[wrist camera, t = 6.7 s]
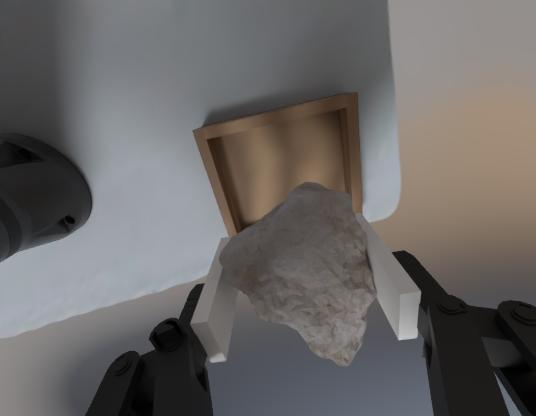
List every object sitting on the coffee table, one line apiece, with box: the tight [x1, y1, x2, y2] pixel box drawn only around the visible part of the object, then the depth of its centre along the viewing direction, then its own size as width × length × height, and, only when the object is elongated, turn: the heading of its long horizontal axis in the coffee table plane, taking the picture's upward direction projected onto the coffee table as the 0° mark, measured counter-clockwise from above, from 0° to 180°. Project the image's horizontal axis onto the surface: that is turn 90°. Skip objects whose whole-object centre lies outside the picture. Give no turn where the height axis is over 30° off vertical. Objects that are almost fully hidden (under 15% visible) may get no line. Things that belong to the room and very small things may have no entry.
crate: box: [193, 92, 362, 237], centre depth 30 cm, size 18×16×4 cm
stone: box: [219, 181, 377, 366], centre depth 13 cm, size 10×8×6 cm
